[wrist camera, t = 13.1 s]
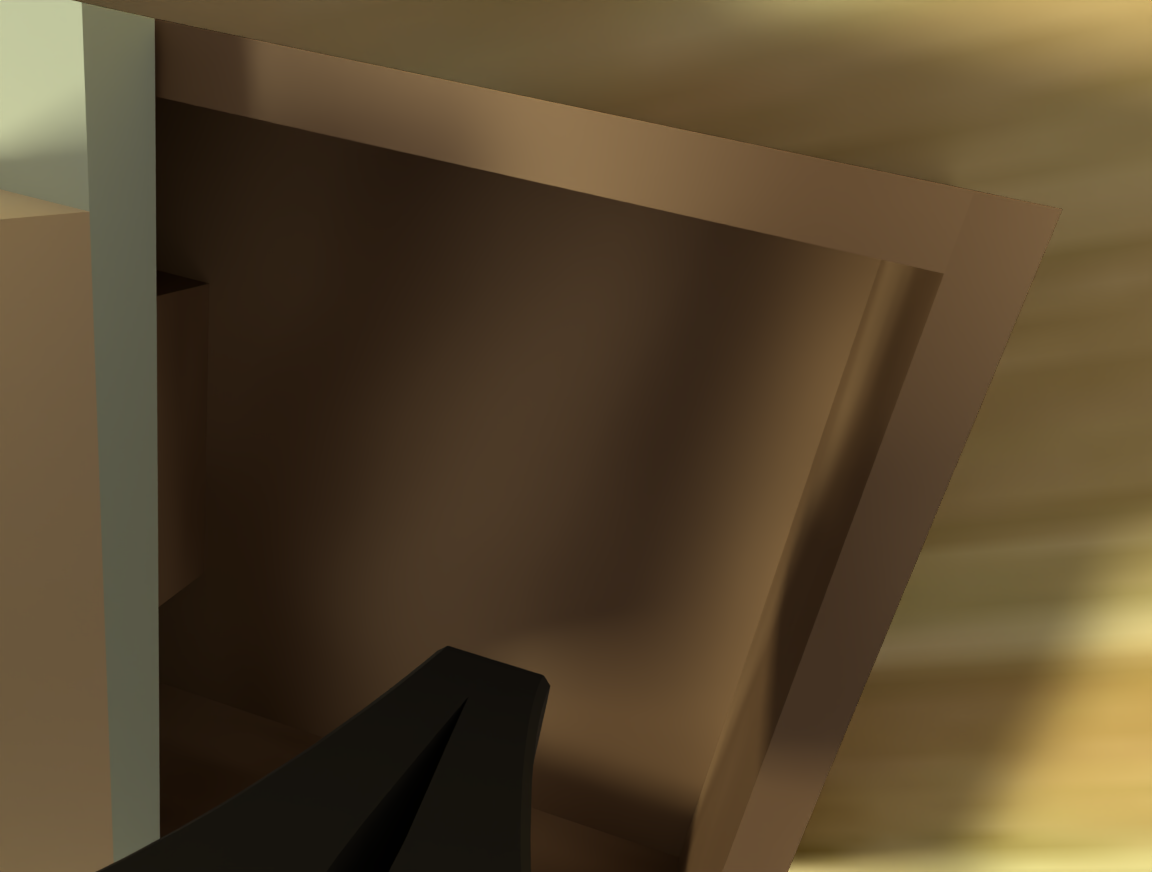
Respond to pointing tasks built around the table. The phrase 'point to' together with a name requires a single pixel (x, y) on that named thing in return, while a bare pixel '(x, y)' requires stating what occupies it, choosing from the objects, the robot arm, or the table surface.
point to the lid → (77, 437)
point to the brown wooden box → (547, 433)
